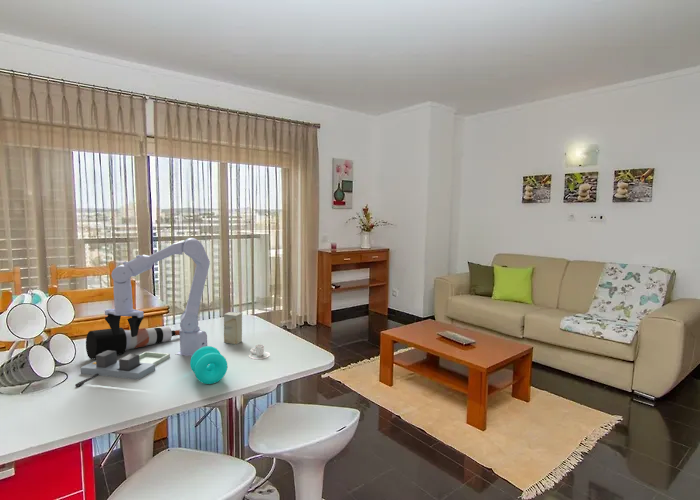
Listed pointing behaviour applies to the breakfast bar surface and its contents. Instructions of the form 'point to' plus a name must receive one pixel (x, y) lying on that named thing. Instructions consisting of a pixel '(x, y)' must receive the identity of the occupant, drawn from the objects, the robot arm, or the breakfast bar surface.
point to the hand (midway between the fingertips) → (125, 335)
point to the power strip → (113, 368)
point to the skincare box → (233, 327)
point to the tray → (153, 357)
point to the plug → (129, 362)
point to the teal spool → (208, 365)
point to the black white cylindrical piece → (125, 339)
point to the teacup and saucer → (258, 352)
